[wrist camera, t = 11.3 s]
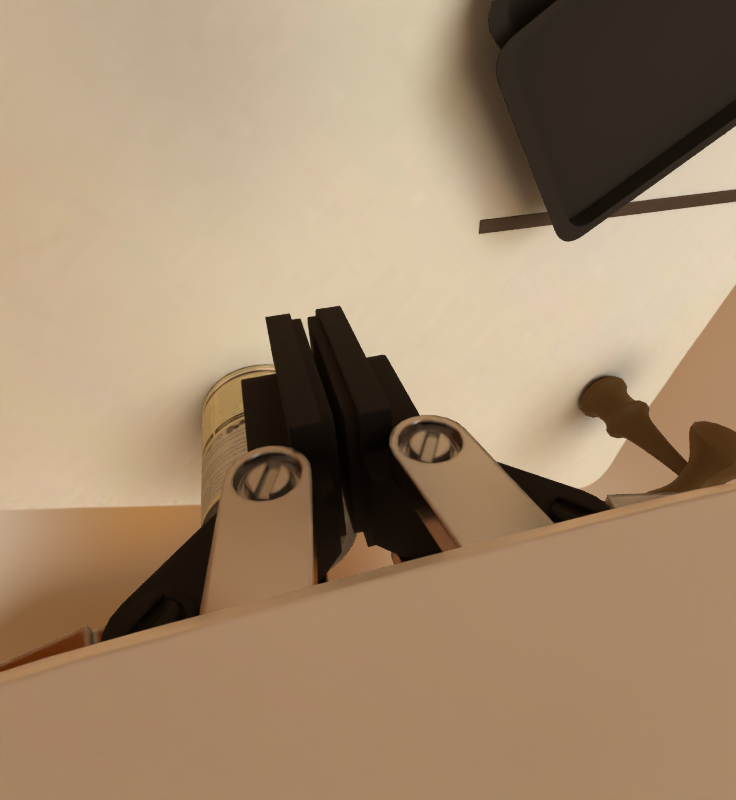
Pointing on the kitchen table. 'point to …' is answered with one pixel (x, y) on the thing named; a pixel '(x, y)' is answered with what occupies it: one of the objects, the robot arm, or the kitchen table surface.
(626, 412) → the kendama
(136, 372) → the kitchen table surface
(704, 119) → the tray
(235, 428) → the coffee can
